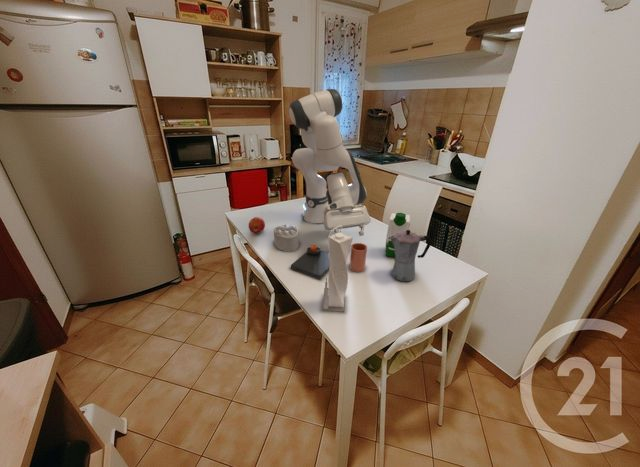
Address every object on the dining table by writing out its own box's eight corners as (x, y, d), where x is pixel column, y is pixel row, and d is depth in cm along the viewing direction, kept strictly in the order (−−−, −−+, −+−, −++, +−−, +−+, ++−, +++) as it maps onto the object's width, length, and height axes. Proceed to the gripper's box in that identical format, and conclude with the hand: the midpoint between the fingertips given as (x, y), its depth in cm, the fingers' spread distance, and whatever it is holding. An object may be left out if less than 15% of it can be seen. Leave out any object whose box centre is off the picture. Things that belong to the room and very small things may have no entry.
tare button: (312, 247, 117) (312, 244, 116) (318, 249, 115) (318, 246, 114) (309, 250, 114) (309, 247, 114) (314, 252, 113) (314, 249, 112)
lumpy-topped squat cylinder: (291, 236, 132) (290, 220, 128) (303, 247, 122) (303, 231, 118) (272, 241, 127) (270, 225, 123) (283, 254, 118) (281, 237, 114)
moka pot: (382, 267, 109) (388, 224, 100) (419, 268, 109) (429, 225, 99) (386, 281, 101) (393, 236, 91) (427, 282, 100) (438, 237, 91)
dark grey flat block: (311, 251, 120) (311, 244, 118) (339, 260, 114) (339, 253, 112) (290, 268, 108) (290, 261, 106) (320, 279, 101) (320, 272, 100)
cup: (353, 261, 113) (355, 241, 108) (367, 266, 110) (369, 245, 105) (347, 269, 108) (348, 248, 103) (361, 273, 105) (363, 252, 100)
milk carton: (383, 256, 116) (389, 215, 107) (385, 246, 124) (391, 207, 115) (403, 260, 114) (411, 218, 104) (405, 250, 121) (412, 210, 112)
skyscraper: (325, 293, 94) (326, 223, 81) (347, 295, 94) (352, 224, 81) (322, 310, 87) (324, 236, 74) (347, 312, 86) (353, 237, 73)
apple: (267, 229, 139) (265, 215, 136) (262, 236, 132) (261, 222, 128) (252, 228, 140) (250, 214, 136) (247, 235, 133) (245, 221, 129)
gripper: (362, 207, 118) (370, 235, 115) (319, 212, 112) (327, 243, 109) (367, 201, 113) (377, 231, 109) (323, 206, 107) (331, 238, 103)
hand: (351, 237), depth 109 cm, fingers open, 8 cm apart
